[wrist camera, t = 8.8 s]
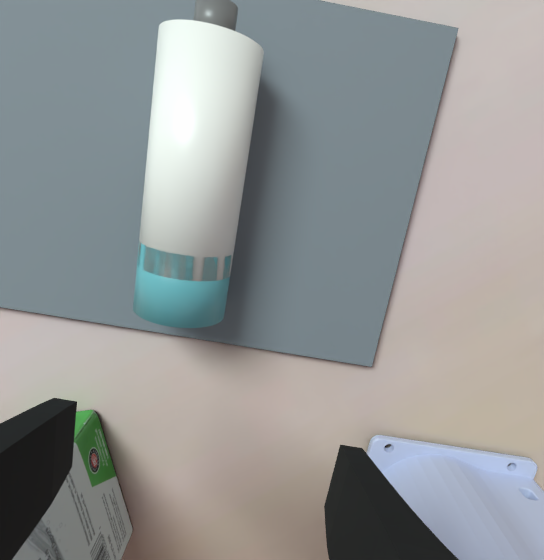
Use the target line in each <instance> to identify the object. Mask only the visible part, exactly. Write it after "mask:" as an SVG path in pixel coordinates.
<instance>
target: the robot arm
mask: <svg viewBox="0 0 544 560" xmlns="http://www.w3.org/2000/svg"><path fill="white" fill-rule="evenodd" d="M76 407H77V402H75V401H69V400H63V399H57V398H53V399H51V400H48V401H46V402H44V403H42V404H39V405H37V406H35V407H33V408H31V409H29V410H27V411H25V412H23V413H21V414H19V415H17V416H15V417H13V418H11V419H9V420H7V421H5V422H3V423H1V424H0V560H12V559H13V558H14V556H15V555H16V554H17V552H18V551H19V549H20V548H21V547H22V545H23V544H24V542H25V541H26V540H27V538H28V537H29V535H30V534H31V533H32V531H33V530H34V528H35V527H36V526H37V524H38V523H39V521H40V520H41V518H42V517H43V516H44V514H45V513H46V511H47V510H48V508H49V507H50V506H51V504H52V502H53V501H54V499H55V497H56V495H57V494H58V492H59V490H60V488H61V487H62V485H63V483H64V481H65V479H66V477H67V475H68V474H69V472H70V470H71V468H72V462H73V448H74V434H75V421H76ZM387 444H391V446H390V447H388V448H385V446H386V445H387ZM510 463H511V465H509V466H508V464H510ZM536 471H537V464H536V463H535V462H534V461H533V460H532V459H530V458H527V457H520V456H514V455H507V454H501V453H494V452H488V451H481V450H475V449H468V448H462V447H455V446H449V445H442V444H436V443H429V442H423V441H416V440H409V439H403V438H396V437H390V436H383V435H376V436H374V437H373V438H371V440H370V443H369V446H368V450H367V453H366V452H365V451H364V450H363V449H362V448H357V447H351V446H345V445H340V448H339V452H338V456H337V460H336V464H335V468H334V471H333V475H332V479H331V483H330V487H329V491H328V495H327V498H326V502H325V506H324V507H325V524H326V538H327V548H328V554H329V560H544V491H543V490H542V489H541V488H540V487H539V485H538V484H537V483H536V482H535V481H534V480H533V479H534V476H535V474H536Z"/></svg>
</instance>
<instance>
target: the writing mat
mask: <svg viewBox="0 0 544 560" xmlns="http://www.w3.org/2000/svg"><path fill="white" fill-rule="evenodd" d="M195 1H196V0H0V307H2V308H9V309H15V310H21V311H27V312H34V313H40V314H46V315H52V316H58V317H65V318H71V319H77V320H83V321H90V322H96V323H102V324H108V325H115V326H121V327H127V328H133V329H139V330H146V331H152V332H158V333H164V334H171V335H177V336H183V337H189V338H195V339H202V340H208V341H214V342H220V343H227V344H233V345H239V346H245V347H252V348H258V349H264V350H270V351H276V352H283V353H289V354H295V355H301V356H308V357H314V358H320V359H326V360H332V361H339V362H345V363H351V364H357V365H364V366H370V367H372V364H373V360H374V356H375V352H376V348H377V344H378V340H379V336H380V332H381V328H382V325H383V321H384V317H385V313H386V309H387V305H388V301H389V297H390V293H391V289H392V286H393V282H394V278H395V274H396V270H397V266H398V262H399V258H400V254H401V250H402V247H403V243H404V239H405V235H406V231H407V227H408V223H409V219H410V215H411V211H412V208H413V204H414V200H415V196H416V192H417V188H418V184H419V180H420V176H421V172H422V168H423V165H424V161H425V157H426V153H427V149H428V145H429V141H430V137H431V133H432V129H433V126H434V122H435V118H436V114H437V110H438V106H439V102H440V98H441V94H442V90H443V87H444V83H445V79H446V75H447V71H448V67H449V63H450V59H451V55H452V51H453V48H454V44H455V40H456V36H457V32H458V28H456V27H451V26H446V25H441V24H436V23H431V22H426V21H421V20H416V19H411V18H406V17H401V16H395V15H390V14H385V13H380V12H375V11H370V10H365V9H360V8H355V7H350V6H345V5H340V4H335V3H330V2H325V1H320V0H230V1H232V2H233V3H235V4H236V5H237V7H238V15H237V23H236V30H235V31H236V32H238V33H241V34H243V35H245V36H247V37H249V38H250V39H252V40H254V41H255V42H256V43H258V44H259V45H260V46H261V47H262V49H263V51H264V56H263V62H262V69H261V75H260V82H259V89H258V95H257V102H256V108H255V115H254V122H253V128H252V135H251V141H250V148H249V155H248V161H247V168H246V174H245V181H244V188H243V194H242V201H241V207H240V214H239V221H238V227H237V234H236V240H235V247H234V254H233V260H232V267H231V273H230V280H229V287H228V293H227V300H226V306H225V313H224V318H223V320H222V321H221V322H219V323H217V324H215V325H212V326H208V327H201V328H177V327H169V326H164V325H159V324H155V323H152V322H149V321H147V320H144V319H142V318H141V317H139V316H138V315H136V313H135V312H134V311H133V302H134V291H135V280H136V269H137V259H138V248H139V237H140V226H141V215H142V204H143V193H144V182H145V171H146V160H147V149H148V139H149V128H150V117H151V106H152V95H153V84H154V73H155V62H156V51H157V40H158V30H159V25H160V24H161V23H162V22H164V21H168V20H177V19H182V20H193V19H194V10H195Z"/></svg>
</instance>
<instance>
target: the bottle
mask: <svg viewBox="0 0 544 560" xmlns="http://www.w3.org/2000/svg"><path fill="white" fill-rule="evenodd" d="M237 15H238V7H237V5H236V4H235V3H233V2H232V1H230V0H196V1H195V10H194V19H193V20H182V19H177V20H168V21H164V22H162V23H161V24H160V25H159V30H158V40H157V51H156V62H155V73H154V84H153V95H152V106H151V117H150V128H149V139H148V149H147V160H146V171H145V182H144V193H143V204H142V215H141V226H140V237H139V248H138V259H137V269H136V280H135V291H134V302H133V311H134V312H135V313H136V315H138V316H139V317H141V318H142V319H144V320H147V321H149V322H152V323H155V324H159V325H164V326H169V327H177V328H201V327H208V326H212V325H215V324H217V323H219V322H221V321H222V320H223V318H224V313H225V306H226V300H227V293H228V287H229V280H230V273H231V267H232V260H233V254H234V247H235V240H236V234H237V227H238V221H239V214H240V207H241V201H242V194H243V188H244V181H245V174H246V168H247V161H248V155H249V148H250V141H251V135H252V128H253V122H254V115H255V108H256V102H257V95H258V89H259V82H260V75H261V69H262V62H263V56H264V51H263V49H262V47H261V46H260V45H259V44H258V43H256V42H255V41H254V40H252V39H250V38H249V37H247V36H245V35H243V34H241V33H238V32H236V31H235V30H236V23H237Z"/></svg>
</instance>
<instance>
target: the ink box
mask: <svg viewBox="0 0 544 560" xmlns="http://www.w3.org/2000/svg"><path fill="white" fill-rule="evenodd" d="M131 534H132V525H131V522H130V519H129V515H128V512H127V509H126V506H125V503H124V499H123V496H122V493H121V490H120V487H119V483H118V480H117V477H116V473H115V471H114V467H113V464H112V460H111V457H110V454H109V450H108V447H107V444H106V440H105V437H104V434H103V431H102V427H101V424H100V421H99V418H98V416H97V414H96V413H95V412H94V411H93V410H86V411H79V412H76V421H75V434H74V448H73V462H72V468H71V470H70V472H69V474H68V475H67V477H66V479H65V481H64V483H63V485H62V487H61V488H60V490H59V492H58V494H57V495H56V497H55V499H54V501H53V502H52V504H51V506H50V507H49V508H48V510H47V511H46V513H45V514H44V516H43V517H42V518H41V520H40V521H39V523H38V524H37V526H36V527H35V528H34V530H33V531H32V533H31V534H30V535H29V537H28V538H27V540H26V541H25V542H24V544H23V545H22V547H21V548H20V549H19V551H18V552H17V554H16V555H15V556H14V558H13V559H12V560H121V559H122V556H123V553H124V551H125V548H126V546H127V543H128V541H129V539H130V537H131Z"/></svg>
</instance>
